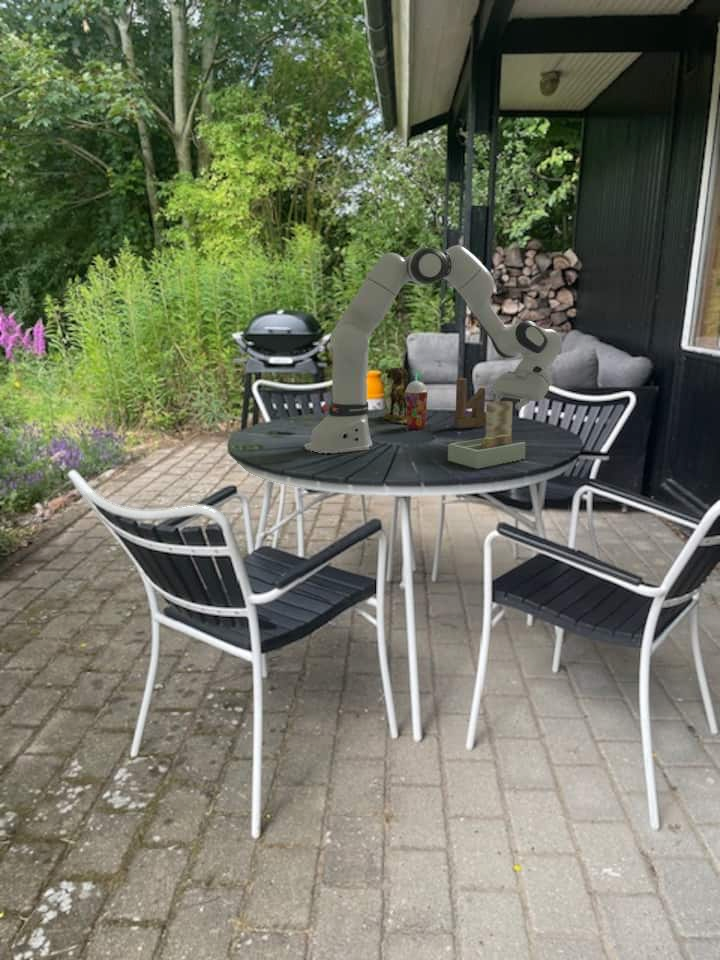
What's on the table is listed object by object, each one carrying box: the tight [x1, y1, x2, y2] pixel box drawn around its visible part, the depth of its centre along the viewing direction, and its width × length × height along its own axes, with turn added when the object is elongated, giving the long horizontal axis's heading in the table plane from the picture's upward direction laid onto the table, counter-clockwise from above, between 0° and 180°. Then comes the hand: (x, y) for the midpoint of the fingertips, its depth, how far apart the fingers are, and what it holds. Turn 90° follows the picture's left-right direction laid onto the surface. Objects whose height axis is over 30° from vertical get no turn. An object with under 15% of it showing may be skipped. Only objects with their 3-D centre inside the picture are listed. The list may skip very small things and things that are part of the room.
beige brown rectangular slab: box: [484, 400, 514, 438], centre depth 224 cm, size 9×3×14 cm, turn 124°
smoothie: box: [405, 372, 429, 430], centre depth 255 cm, size 8×8×20 cm
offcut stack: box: [481, 434, 512, 449], centre depth 204 cm, size 10×4×8 cm, turn 124°
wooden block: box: [453, 377, 486, 430], centre depth 255 cm, size 4×11×18 cm, turn 109°
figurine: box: [379, 367, 409, 426], centre depth 273 cm, size 13×25×20 cm, turn 9°
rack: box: [447, 437, 527, 470], centre depth 206 cm, size 19×13×5 cm, turn 124°
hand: (506, 406), depth 224 cm, fingers open, 8 cm apart
